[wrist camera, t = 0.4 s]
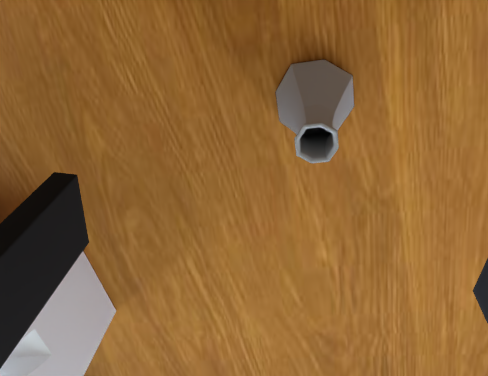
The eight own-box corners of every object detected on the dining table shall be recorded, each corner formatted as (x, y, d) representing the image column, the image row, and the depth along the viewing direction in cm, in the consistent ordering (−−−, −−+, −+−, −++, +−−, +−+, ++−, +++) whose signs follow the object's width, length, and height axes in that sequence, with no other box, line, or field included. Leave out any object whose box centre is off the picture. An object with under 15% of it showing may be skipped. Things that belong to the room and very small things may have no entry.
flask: (283, 51, 37) (276, 86, 29) (365, 66, 37) (382, 105, 29) (268, 127, 41) (258, 177, 33) (343, 141, 41) (352, 195, 32)
